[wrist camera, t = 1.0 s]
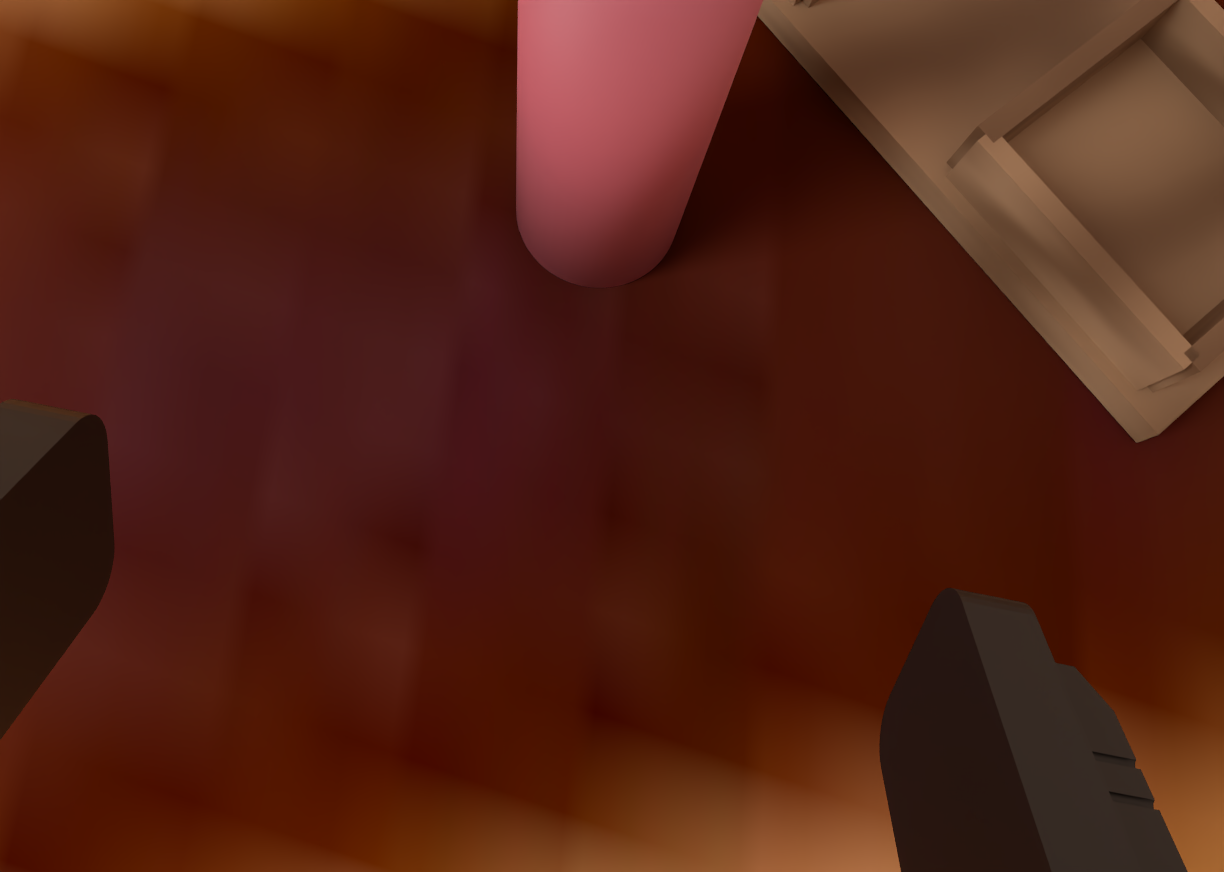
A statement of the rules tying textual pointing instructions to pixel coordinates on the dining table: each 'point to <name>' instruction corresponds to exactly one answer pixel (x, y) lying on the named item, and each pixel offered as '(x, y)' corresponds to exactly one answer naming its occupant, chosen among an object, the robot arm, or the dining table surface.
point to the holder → (1056, 165)
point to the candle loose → (617, 125)
